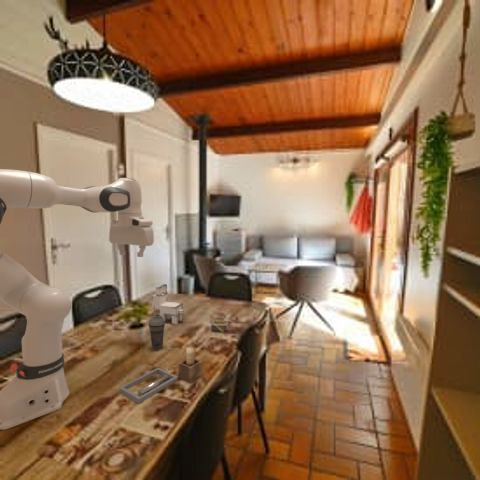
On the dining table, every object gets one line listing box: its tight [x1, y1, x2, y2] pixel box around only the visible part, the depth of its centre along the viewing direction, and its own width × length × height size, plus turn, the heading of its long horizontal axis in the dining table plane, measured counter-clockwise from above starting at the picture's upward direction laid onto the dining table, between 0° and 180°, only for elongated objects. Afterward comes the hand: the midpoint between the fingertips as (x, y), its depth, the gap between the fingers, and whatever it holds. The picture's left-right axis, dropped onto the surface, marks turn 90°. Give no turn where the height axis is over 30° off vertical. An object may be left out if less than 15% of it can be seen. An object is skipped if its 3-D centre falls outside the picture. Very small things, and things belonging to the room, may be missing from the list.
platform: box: [209, 318, 229, 333], centre depth 163 cm, size 12×18×7 cm, turn 85°
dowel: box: [185, 346, 196, 367], centre depth 118 cm, size 3×3×11 cm
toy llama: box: [151, 283, 185, 326], centre depth 175 cm, size 8×18×20 cm, turn 72°
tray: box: [118, 367, 179, 405], centre depth 112 cm, size 17×11×2 cm, turn 144°
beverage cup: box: [148, 305, 166, 351], centre depth 142 cm, size 7×7×20 cm
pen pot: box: [178, 358, 203, 384], centre depth 118 cm, size 6×6×6 cm
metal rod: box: [137, 375, 170, 397], centre depth 110 cm, size 12×2×2 cm, turn 144°
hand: (131, 255), depth 123 cm, fingers open, 8 cm apart
